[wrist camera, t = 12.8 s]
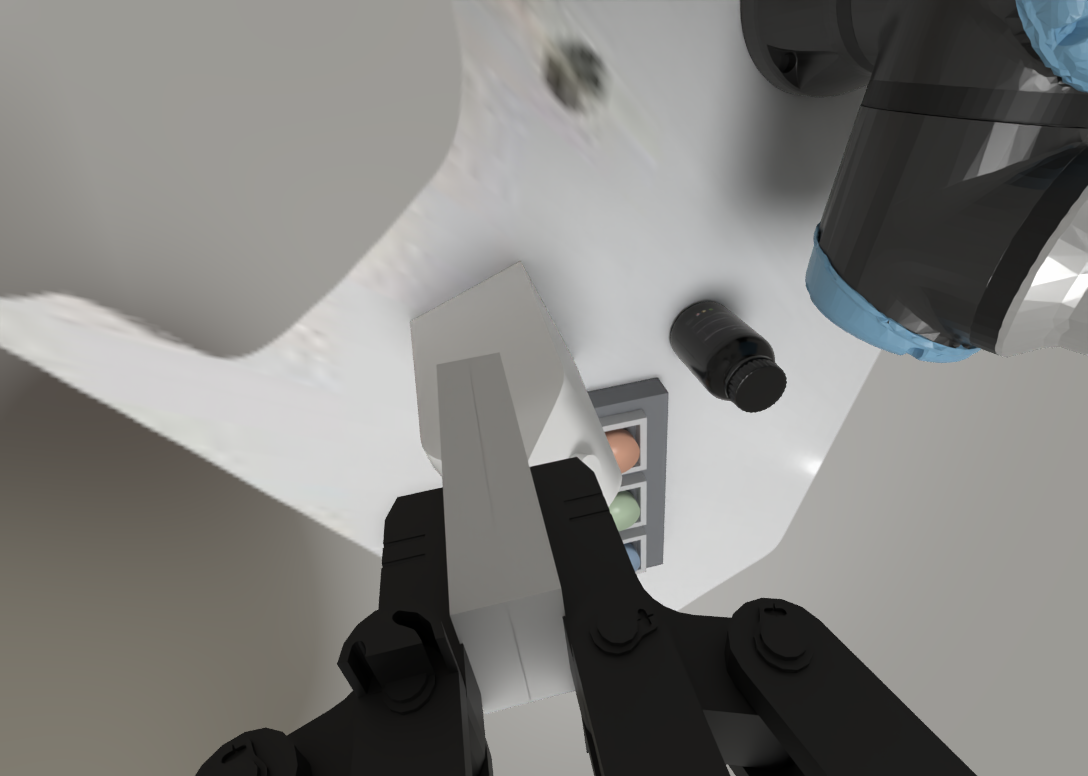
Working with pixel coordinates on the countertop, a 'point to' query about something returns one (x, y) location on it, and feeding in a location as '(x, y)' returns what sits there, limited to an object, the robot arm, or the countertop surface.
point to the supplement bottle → (728, 357)
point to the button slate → (633, 555)
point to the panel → (641, 458)
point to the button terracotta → (623, 448)
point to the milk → (514, 373)
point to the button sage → (624, 510)
